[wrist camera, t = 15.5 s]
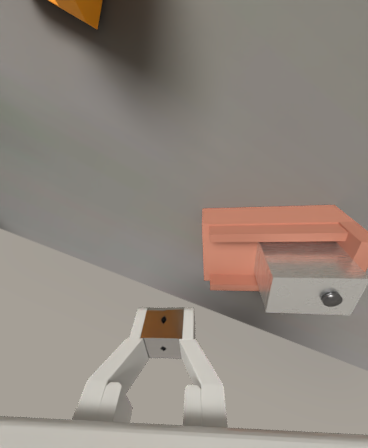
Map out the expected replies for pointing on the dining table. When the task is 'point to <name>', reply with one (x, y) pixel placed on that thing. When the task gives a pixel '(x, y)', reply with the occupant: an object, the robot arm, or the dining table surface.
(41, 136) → the dining table surface
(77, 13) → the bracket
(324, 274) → the block with knob
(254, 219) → the pink boxy piece
